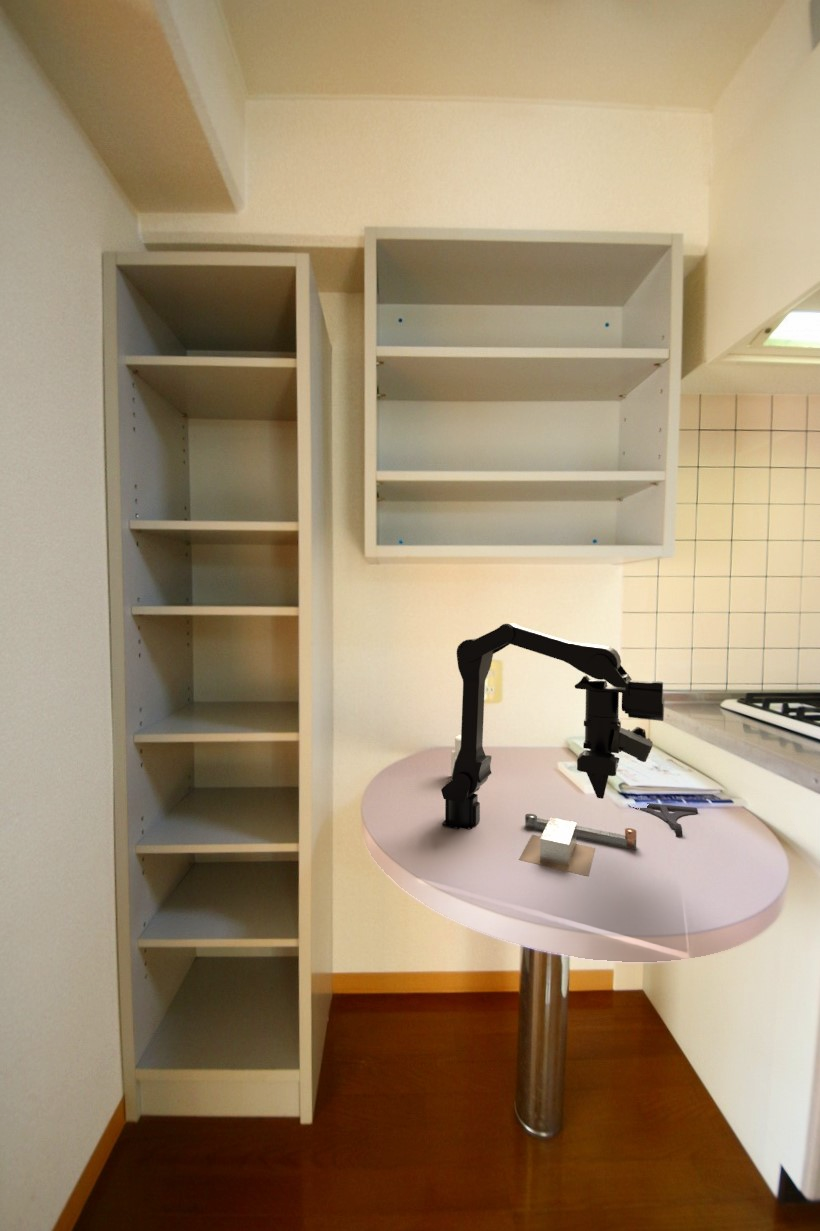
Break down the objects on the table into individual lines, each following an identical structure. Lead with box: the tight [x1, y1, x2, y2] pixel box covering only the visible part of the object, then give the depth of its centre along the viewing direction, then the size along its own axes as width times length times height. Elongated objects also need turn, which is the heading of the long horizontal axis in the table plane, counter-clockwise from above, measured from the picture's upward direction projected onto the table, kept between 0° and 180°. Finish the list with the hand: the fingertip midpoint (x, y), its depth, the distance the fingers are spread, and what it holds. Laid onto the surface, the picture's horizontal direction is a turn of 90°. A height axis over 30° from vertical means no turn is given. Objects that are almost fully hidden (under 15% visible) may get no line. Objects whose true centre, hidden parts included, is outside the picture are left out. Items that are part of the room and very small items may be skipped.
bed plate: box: [518, 834, 596, 877], centre depth 91 cm, size 12×11×1 cm
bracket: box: [637, 802, 699, 838], centre depth 107 cm, size 14×15×3 cm
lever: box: [524, 813, 637, 851], centre depth 98 cm, size 21×2×4 cm, turn 64°
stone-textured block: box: [540, 817, 578, 867], centre depth 92 cm, size 5×10×4 cm, turn 154°
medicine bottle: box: [450, 734, 461, 777], centre depth 131 cm, size 7×7×12 cm
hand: (600, 797), depth 91 cm, fingers closed
